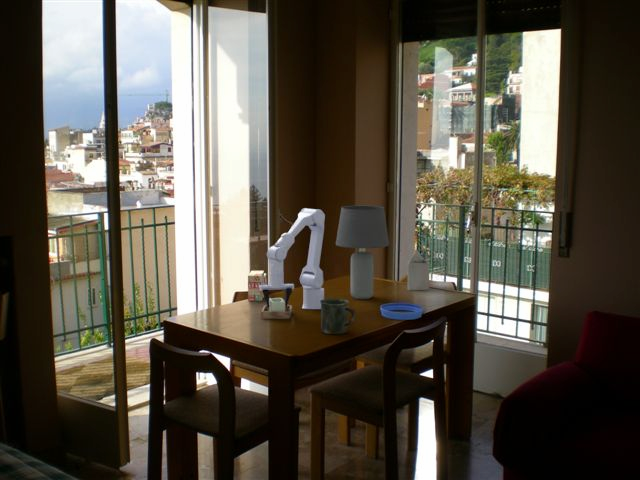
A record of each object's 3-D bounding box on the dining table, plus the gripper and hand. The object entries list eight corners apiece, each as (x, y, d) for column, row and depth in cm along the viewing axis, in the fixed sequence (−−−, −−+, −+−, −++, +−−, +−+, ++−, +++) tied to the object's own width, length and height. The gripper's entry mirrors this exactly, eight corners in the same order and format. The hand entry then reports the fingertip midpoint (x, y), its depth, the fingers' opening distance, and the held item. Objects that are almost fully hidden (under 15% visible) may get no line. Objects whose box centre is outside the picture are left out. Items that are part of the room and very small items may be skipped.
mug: (329, 326, 275) (329, 296, 273) (361, 331, 267) (361, 301, 266) (314, 332, 266) (314, 302, 264) (347, 338, 258) (347, 306, 256)
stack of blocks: (254, 291, 341) (254, 267, 339) (266, 291, 340) (266, 267, 339) (247, 301, 319) (247, 275, 318) (261, 301, 319) (261, 275, 317)
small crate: (281, 311, 296) (281, 297, 296) (285, 315, 289) (285, 301, 288) (268, 312, 295) (268, 298, 294) (272, 316, 288) (272, 302, 287)
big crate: (292, 312, 298) (292, 305, 297) (290, 319, 286) (290, 312, 285) (264, 311, 298) (264, 305, 298) (261, 318, 286) (261, 311, 286)
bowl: (395, 322, 281) (395, 314, 281) (372, 313, 297) (372, 305, 297) (431, 317, 290) (431, 309, 289) (407, 308, 305) (407, 301, 305)
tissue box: (421, 292, 338) (422, 253, 336) (407, 290, 343) (407, 252, 341) (436, 286, 351) (437, 249, 349) (422, 285, 356) (423, 248, 354)
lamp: (375, 290, 342) (376, 204, 336) (397, 301, 319) (398, 209, 313) (328, 293, 334) (328, 205, 329) (346, 305, 311) (347, 210, 305)
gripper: (291, 272, 295) (291, 303, 297) (258, 273, 292) (258, 305, 293) (295, 275, 289) (295, 306, 290) (261, 277, 285) (261, 309, 287)
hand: (277, 306), depth 291 cm, fingers open, 7 cm apart
